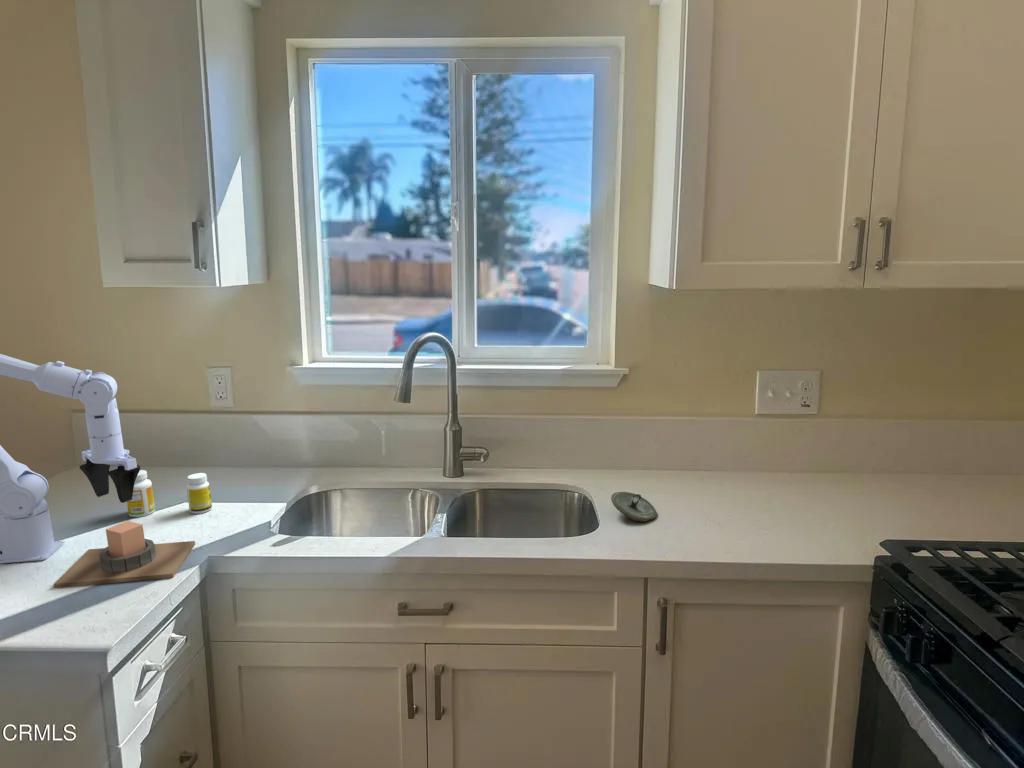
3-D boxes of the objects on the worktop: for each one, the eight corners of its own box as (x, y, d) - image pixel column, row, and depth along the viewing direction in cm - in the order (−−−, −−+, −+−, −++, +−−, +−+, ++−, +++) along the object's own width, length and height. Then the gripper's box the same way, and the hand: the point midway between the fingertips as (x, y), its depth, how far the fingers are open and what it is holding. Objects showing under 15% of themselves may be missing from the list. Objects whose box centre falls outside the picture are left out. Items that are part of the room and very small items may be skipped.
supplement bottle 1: (149, 506, 157) (143, 467, 155) (159, 512, 154) (154, 471, 152) (124, 513, 153) (118, 473, 151) (134, 519, 150) (128, 478, 148)
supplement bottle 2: (215, 509, 155) (211, 475, 153) (194, 516, 152) (190, 480, 150) (206, 504, 158) (202, 470, 156) (186, 510, 155) (181, 476, 153)
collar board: (54, 587, 120) (51, 571, 120) (89, 553, 134) (86, 537, 133) (173, 577, 124) (170, 561, 123) (195, 544, 137) (193, 529, 136)
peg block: (110, 563, 128) (105, 529, 126) (132, 553, 132) (127, 520, 130) (125, 568, 126) (120, 533, 124) (147, 558, 130) (142, 524, 128)
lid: (620, 502, 156) (621, 482, 155) (662, 510, 151) (663, 489, 150) (603, 519, 147) (604, 497, 146) (647, 528, 142) (648, 505, 141)
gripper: (147, 433, 135) (155, 496, 138) (102, 425, 141) (111, 486, 144) (113, 442, 129) (122, 509, 132) (67, 433, 135) (77, 497, 138)
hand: (114, 498), depth 137 cm, fingers open, 7 cm apart
